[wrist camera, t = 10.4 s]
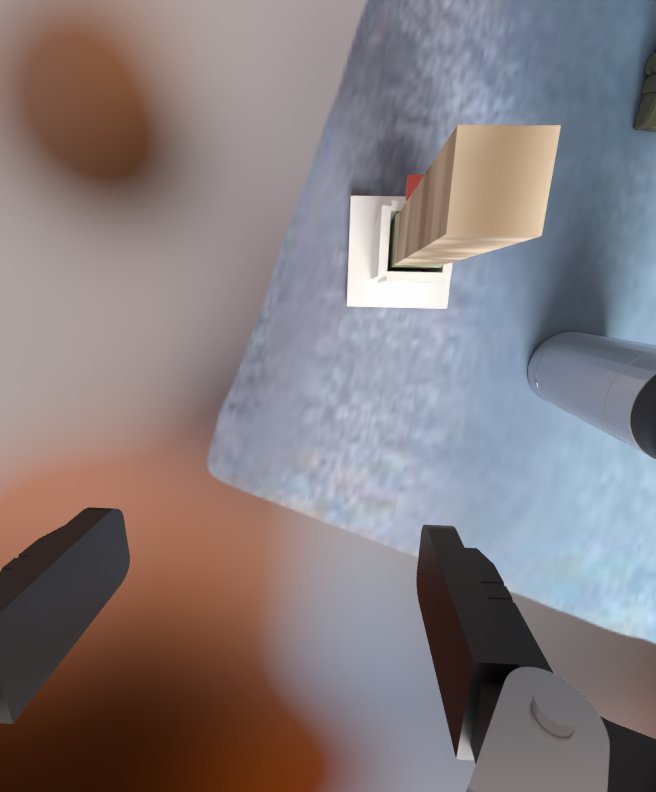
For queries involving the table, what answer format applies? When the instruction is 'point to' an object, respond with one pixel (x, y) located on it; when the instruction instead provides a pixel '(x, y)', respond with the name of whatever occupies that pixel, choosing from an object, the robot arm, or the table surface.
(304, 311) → the table surface
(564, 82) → the table surface
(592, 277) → the table surface
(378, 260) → the sleeve stand
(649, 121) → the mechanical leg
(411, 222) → the post
